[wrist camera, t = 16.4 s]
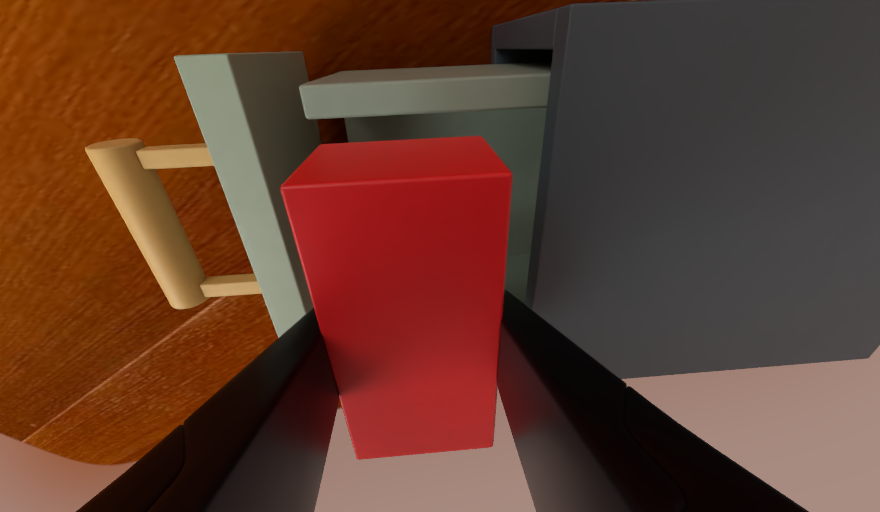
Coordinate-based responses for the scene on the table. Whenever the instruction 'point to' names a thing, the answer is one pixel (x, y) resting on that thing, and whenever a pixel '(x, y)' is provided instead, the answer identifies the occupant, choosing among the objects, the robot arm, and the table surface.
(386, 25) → the table surface
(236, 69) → the drawer
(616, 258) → the cabinet
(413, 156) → the red rectangular block
